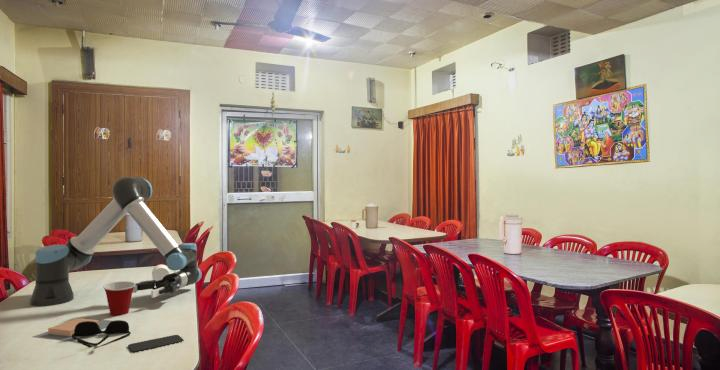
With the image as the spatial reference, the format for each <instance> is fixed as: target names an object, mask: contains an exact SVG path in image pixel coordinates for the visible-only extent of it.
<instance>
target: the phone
mask: <svg viewBox="0 0 720 370" xmlns="http://www.w3.org/2000/svg"><path fill="white" fill-rule="evenodd" d="M182 341H183V342H184V339H183V338H182V336H180V335H179V334H174V335H173V334H172V335H168V336H163V337H158V338H154V339H149V340H143V341H139V342H134V343H130V344H127V345H128V346H127V348H128V349H129V351H130V352H131V353H132V352H134V353H133V354H136V353H135V352H137V353H140V352H139V351H141V352H144V350H146V351H150V350H154V349H158V347H159V348H163V347H167V346H171V345H170V344H172V345H176V344H180V343H183V342H182ZM179 342H180V343H179ZM175 343H176V344H175ZM166 345H167V346H166ZM162 346H163V347H162ZM149 349H150V350H149Z"/></svg>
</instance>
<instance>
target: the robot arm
mask: <svg viewBox="0 0 720 370" xmlns="http://www.w3.org/2000/svg"><path fill="white" fill-rule="evenodd" d="M111 195H112V197H113V198H112V200H111V201H110V202H108V204H107V205H106V206H105V207H104V208H103V210H101V212H99V213H98V215H96V216H95V218H94V219H93V220H92V221H91V222H90V223H89V224H88V225H87V226H86V227H85V228H84V229H83V230H82V232H81V233H79V234H78V236H73V237H70V239H69V240H68V241H67V242H66V243H65V244H51V245H47V246H43V247H41V248H38V249H37V250H36V251H35V257H34V262H35V263H34V264H35V269H34V270H35V274H34V275H35V284H34V285H35V286H34V288H33V292H32V294H31V297H30V300H29V302H30V305H31V306H34V305H37V307H43V306H44V305H45V306H53V305H60V304H63V303H68V302H70V301H72V300H74V299H75V298H74V296H75V294H74V291H73V289H72V286H71V284H70V279H69V277H70V276H69V275H70V273H69V272H72V271H75V270H79V269H82V268H84V267H85V266H86V265H88V264H89V263H90V261H92V257H93V255H94V253H95V252H96V251H95V249H96V246H97V245H99V243H100V242H101V241H102V240H103V239H104V238H105V237H106V236H107V235H108V234H109V233H111V230H112V229H113V228H114V227H115V226H117V225H118V223H119V222H121V220H122V219H123V218H124V217H126V215H127V214H129V215H130V217H131V218H132V219H133V220H134V222H135V223H136V224H137V225H138V226H139V227H140V229H141V230H142V231H143V233H144V234H145V235H146V236H147V238H148V239H149V240H150V241H151V242H152V244H153V245H154V246H155V247H156V249H157V250H158V251H159V252H160V254H161V255H162V256H163V257H164V259H165V260H166V261H165V262H166V263H165V264H166V266H167V267H168V269H169V270H173V271H177V272H174V273H171V274H168V275H165V276H164V277H163V279H162V280H159V281H155V280H153V279H152V280H150V281H143V282H137V283H136V282H135V284H136V285H135V286H134V289H133V292H132V294H136V293H137V292H139V291H144V290H151V291H150V292H151V296H150V297H151V299H152V298H156V297H159V296H161V295H164V294H169V293H170V294H173V293H174V292H176V291H177V290H180V289H181V288H184V287H188V286H190V285H194V284H196V283H198V282H199V281H200V280H201V279H202V276H203V275H202V274H203V273H202V271H201V269H200V268H199V267H198V262H197V261H198V259H197V258H198V249H197V248H198V247H197V246H198V245H197V244H196V243H195V242H189V243H187V242H185V243H181V244H180V245H179V243H177V242H176V240H175V239H174V238H173V236H172V235H171V234H170V233H169V232H168V230H167V229H166V228H165V227H164V225H163V223H161V221H160V220H159V219H158V218H157V217H156V215H155V214H154V212H152V210H151V209H150V208H149V207H148V205H147V204H146V203H145V202H147V201H148V200H149V199H151V197H152V195H153V186H152V184H151V182H149V180H148V179H146V178H144V177H140V176H136V177H132V176H125V177H120V178H118V179H117V180H116V181H115V182H114V183H113V185H112V188H111ZM41 305H42V306H41ZM45 306H44V307H45Z"/></svg>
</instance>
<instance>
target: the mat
mask: <svg viewBox="0 0 720 370" xmlns="http://www.w3.org/2000/svg"><path fill="white" fill-rule="evenodd" d="M84 319H92V320H99V327H100V329H101V331H103V330H105V329H106V327H107V326H108V324H109V323H110V322H112V321H113V320H110V319H109V320H108V319H100V318H90V317H86V318H84ZM32 338H38V339H46V340H54V341H62V342H70V343H71V342H73V341H76V339H74V338H72V337H64V336H55V335H49V334H48V331H46V332H42V333H40V334H37V335H34V336H32ZM77 338H79V339H82V337H77Z"/></svg>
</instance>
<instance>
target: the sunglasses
mask: <svg viewBox="0 0 720 370" xmlns="http://www.w3.org/2000/svg"><path fill="white" fill-rule="evenodd" d="M111 321H112V322H110V323H109V324H108V326H107V327H106V328H105V329H104V330H101V329H100V327H99V325H98V324H97V323H96V322H93V321H85V322H80V323H78V324H77V325H76V327H75V329H74V334H72V338H74V339H76V340H77V343H78V344H80V345H83V346H85V347H86V348H93V347H95V346H98V348H99V347H103V346H106V345H109V344H111V343H113V342H117V341H119V340H121V339H125V338H126V337H129V336H130V335H131V331H130V325H129V322H127V321H125V320H122V319H121V320H120V319H119V320H118V319H117V320H111ZM102 334H105V336H104V337H103V338H102V339H101V340H100V341H98V342H96V343H95V342H90V341H87V340H84V339H82V338H85V337H91V336H97V335H102ZM116 334H119V335H120V334H124V335H122V336H120V337H118V338H116V339H113V340H110V341H108V342H106V343H104V344H102V343H103V342H105V341H106V340H108V338H110V335H116ZM77 337H81V338H77ZM76 340H75V341H76ZM100 344H101V345H100Z"/></svg>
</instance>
